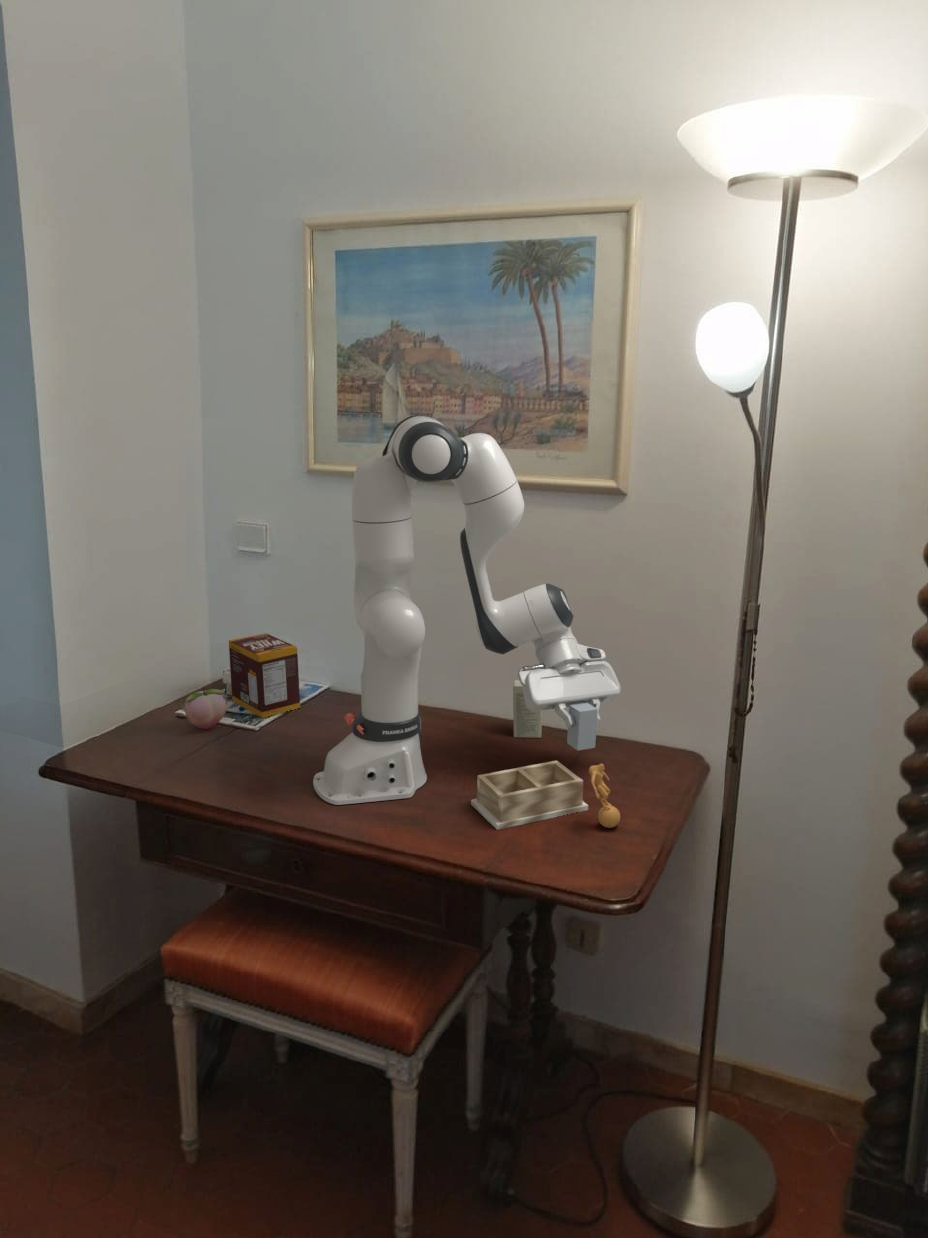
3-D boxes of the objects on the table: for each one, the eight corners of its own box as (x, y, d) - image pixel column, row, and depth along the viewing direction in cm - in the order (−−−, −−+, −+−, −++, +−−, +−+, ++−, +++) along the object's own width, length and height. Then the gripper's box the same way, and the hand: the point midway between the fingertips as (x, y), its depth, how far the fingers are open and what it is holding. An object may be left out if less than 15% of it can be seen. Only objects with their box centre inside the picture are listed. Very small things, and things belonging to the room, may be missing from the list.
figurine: (614, 839, 171) (617, 776, 168) (581, 833, 173) (583, 771, 170) (624, 818, 179) (627, 758, 176) (592, 813, 181) (594, 753, 178)
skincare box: (541, 731, 219) (543, 679, 216) (541, 738, 215) (542, 686, 212) (513, 730, 220) (514, 678, 217) (512, 737, 216) (513, 685, 213)
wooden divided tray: (496, 830, 174) (497, 799, 173) (471, 804, 184) (471, 775, 182) (588, 810, 182) (589, 780, 180) (558, 786, 192) (559, 758, 190)
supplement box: (268, 691, 244) (265, 632, 240) (301, 708, 232) (298, 646, 228) (231, 701, 237) (227, 639, 233) (262, 719, 226) (258, 654, 222)
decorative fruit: (214, 718, 226) (211, 678, 223) (233, 728, 220) (231, 686, 218) (177, 729, 219) (174, 687, 217) (197, 739, 214) (193, 696, 211)
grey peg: (577, 750, 188) (579, 711, 186) (566, 743, 192) (569, 704, 190) (595, 747, 190) (597, 709, 188) (584, 740, 193) (586, 702, 191)
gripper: (521, 659, 188) (543, 724, 182) (610, 649, 197) (634, 711, 191) (509, 674, 193) (531, 738, 187) (597, 664, 202) (620, 724, 196)
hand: (584, 724), depth 189 cm, fingers closed on grey peg, 4 cm apart
